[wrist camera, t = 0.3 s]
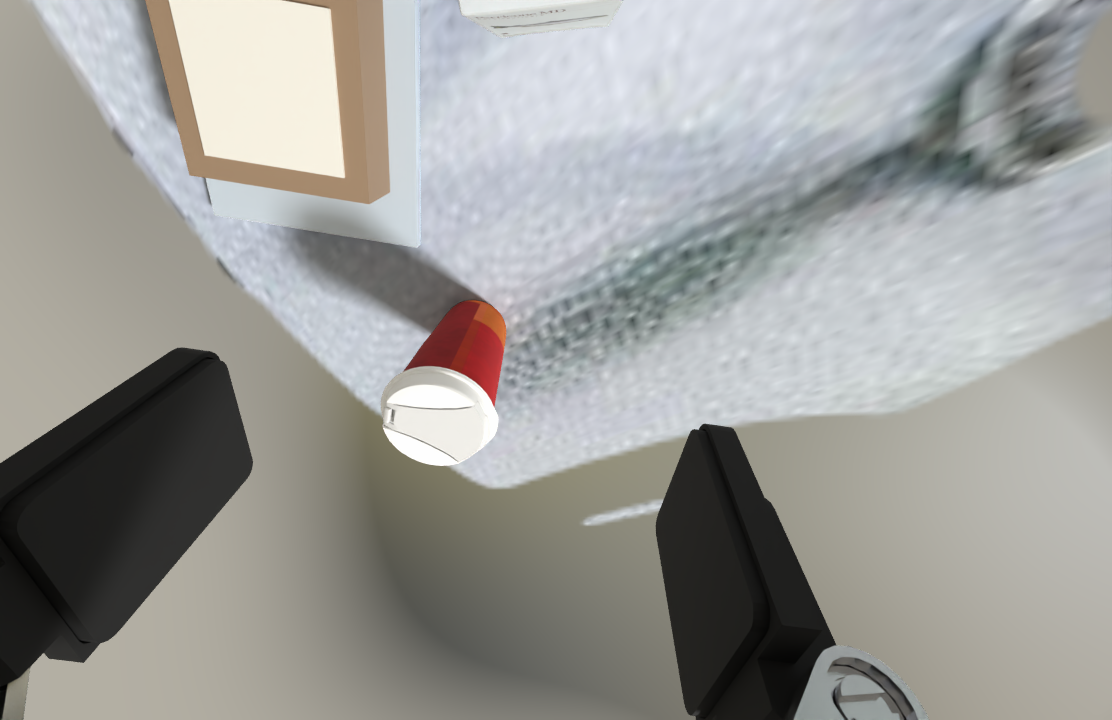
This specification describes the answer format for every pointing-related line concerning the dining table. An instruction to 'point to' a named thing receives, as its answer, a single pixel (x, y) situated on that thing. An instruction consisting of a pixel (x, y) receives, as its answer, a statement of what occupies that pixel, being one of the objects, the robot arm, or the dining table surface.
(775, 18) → the dining table surface
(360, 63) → the stepped pedestal
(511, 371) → the dining table surface
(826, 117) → the dining table surface
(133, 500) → the robot arm
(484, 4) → the supplement box
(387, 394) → the paper cup
